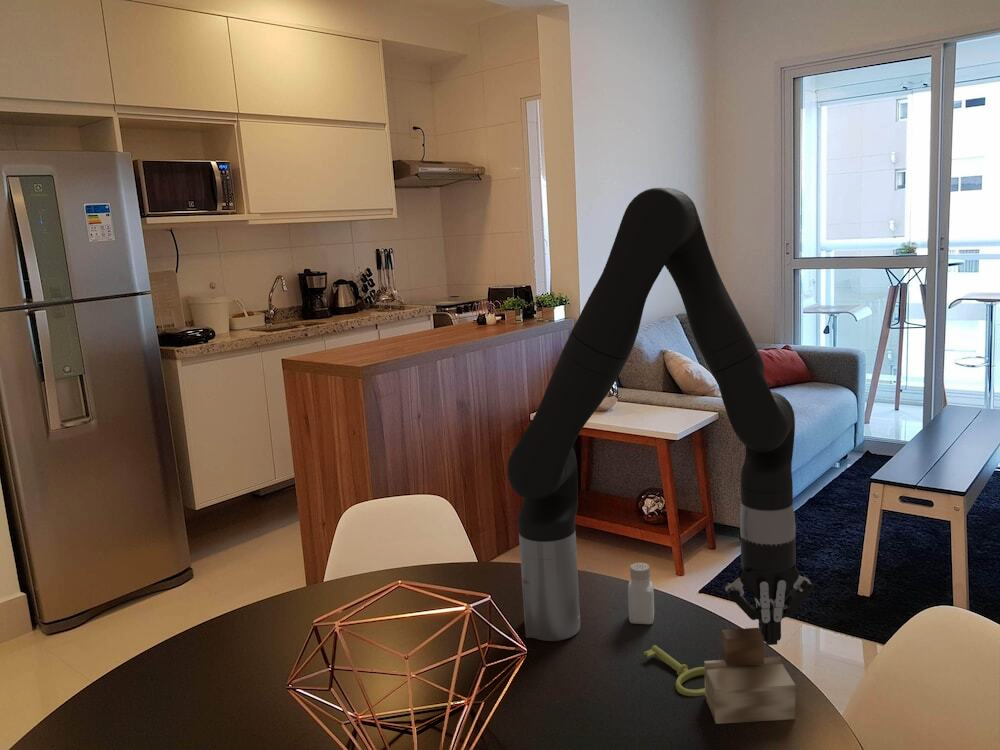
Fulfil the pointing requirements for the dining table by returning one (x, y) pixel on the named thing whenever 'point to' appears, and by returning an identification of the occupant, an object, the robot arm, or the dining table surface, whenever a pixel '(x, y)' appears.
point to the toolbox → (750, 693)
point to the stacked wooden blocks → (742, 650)
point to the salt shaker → (640, 595)
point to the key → (678, 671)
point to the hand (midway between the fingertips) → (769, 642)
